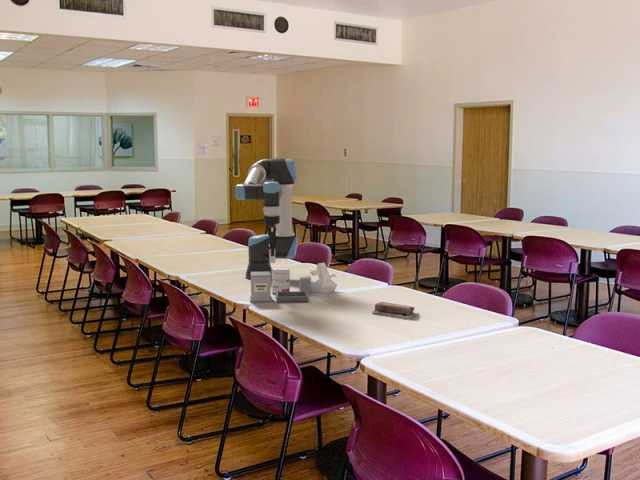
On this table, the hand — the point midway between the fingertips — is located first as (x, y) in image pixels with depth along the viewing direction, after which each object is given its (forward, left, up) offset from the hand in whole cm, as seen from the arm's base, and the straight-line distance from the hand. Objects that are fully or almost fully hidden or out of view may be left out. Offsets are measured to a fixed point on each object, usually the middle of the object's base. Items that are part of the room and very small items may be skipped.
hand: (272, 259), depth 310 cm
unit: (+5, -6, -18) cm, 19 cm away
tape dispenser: (-12, +26, -18) cm, 34 cm away
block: (-10, +16, -18) cm, 27 cm away
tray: (+5, +9, -18) cm, 21 cm away
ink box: (-10, +4, -18) cm, 22 cm away
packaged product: (+37, +51, -19) cm, 66 cm away
